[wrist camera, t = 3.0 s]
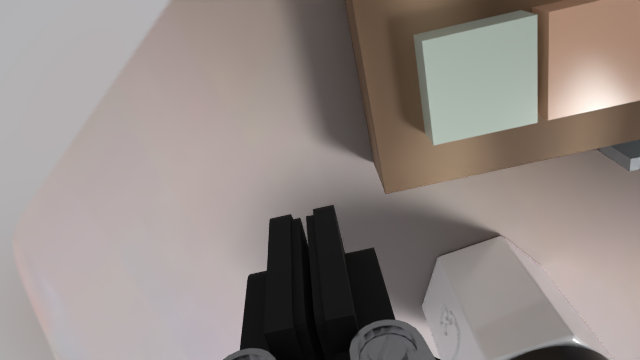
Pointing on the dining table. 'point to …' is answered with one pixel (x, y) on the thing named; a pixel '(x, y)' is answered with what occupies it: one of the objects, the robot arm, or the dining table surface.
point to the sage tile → (478, 76)
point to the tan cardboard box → (406, 108)
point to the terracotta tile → (587, 55)
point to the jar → (503, 309)
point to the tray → (624, 154)
